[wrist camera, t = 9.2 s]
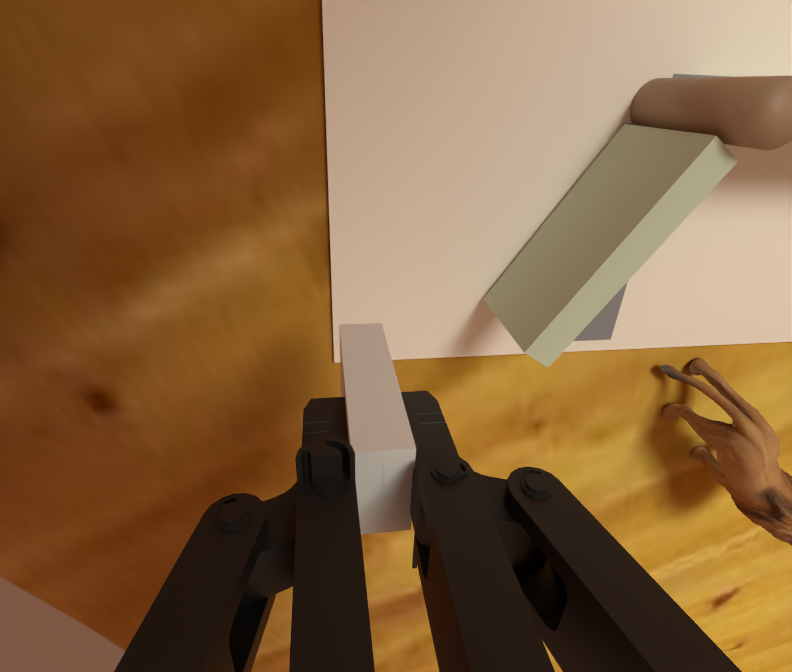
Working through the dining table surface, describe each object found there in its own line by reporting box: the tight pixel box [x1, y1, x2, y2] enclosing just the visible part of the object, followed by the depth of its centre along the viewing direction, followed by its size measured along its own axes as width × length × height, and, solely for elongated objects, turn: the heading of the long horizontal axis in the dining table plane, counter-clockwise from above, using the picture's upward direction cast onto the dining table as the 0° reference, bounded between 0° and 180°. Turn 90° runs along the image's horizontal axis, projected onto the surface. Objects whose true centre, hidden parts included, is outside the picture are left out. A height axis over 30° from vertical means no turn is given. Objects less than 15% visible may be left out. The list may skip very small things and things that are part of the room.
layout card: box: [322, 0, 792, 363], centre depth 24 cm, size 22×32×1 cm
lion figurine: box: [660, 358, 792, 545], centre depth 30 cm, size 15×5×9 cm, turn 45°
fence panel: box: [484, 124, 738, 367], centre depth 22 cm, size 2×11×6 cm, turn 145°
